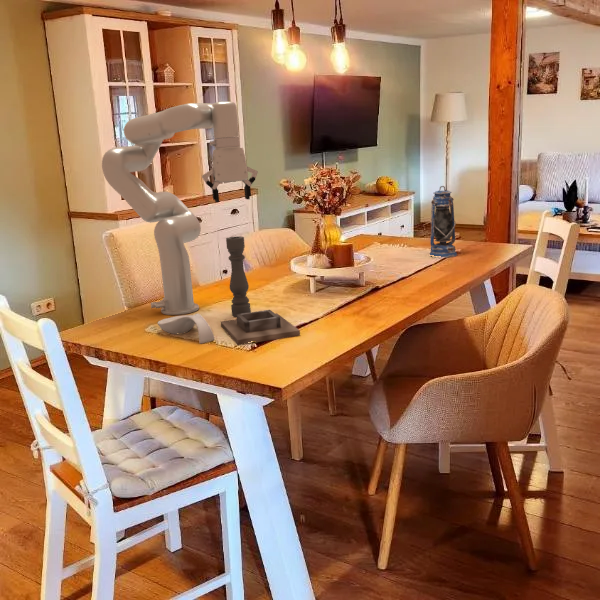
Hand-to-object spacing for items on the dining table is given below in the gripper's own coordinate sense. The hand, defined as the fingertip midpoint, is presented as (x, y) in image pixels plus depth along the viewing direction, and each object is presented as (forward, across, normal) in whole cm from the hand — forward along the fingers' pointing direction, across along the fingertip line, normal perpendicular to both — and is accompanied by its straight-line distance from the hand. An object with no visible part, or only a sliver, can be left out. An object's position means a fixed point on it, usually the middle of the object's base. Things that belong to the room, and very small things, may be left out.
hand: (232, 200), depth 213 cm
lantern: (+37, +104, +52) cm, 122 cm away
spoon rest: (+37, -20, -13) cm, 44 cm away
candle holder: (+37, 0, 0) cm, 37 cm away
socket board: (+37, 0, -21) cm, 42 cm away
